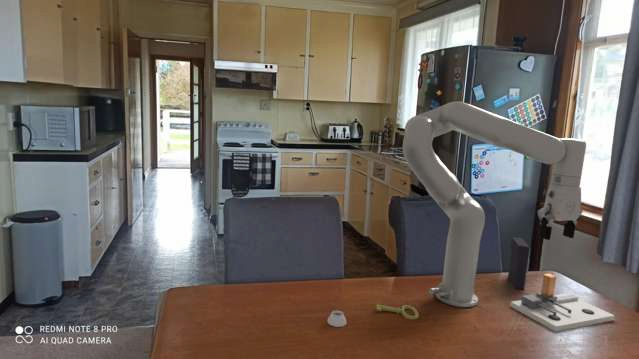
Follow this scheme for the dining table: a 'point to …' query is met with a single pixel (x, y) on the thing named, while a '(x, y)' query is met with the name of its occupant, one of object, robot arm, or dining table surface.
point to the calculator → (519, 263)
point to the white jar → (337, 319)
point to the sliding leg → (550, 291)
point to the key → (399, 310)
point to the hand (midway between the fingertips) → (556, 237)
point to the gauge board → (561, 312)
